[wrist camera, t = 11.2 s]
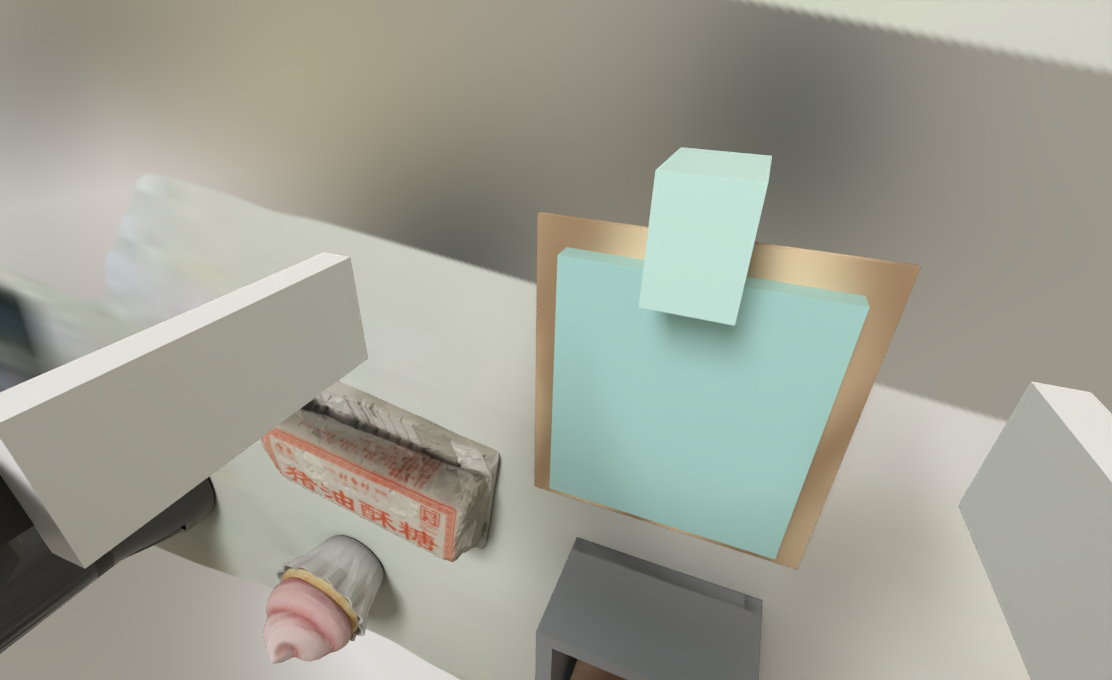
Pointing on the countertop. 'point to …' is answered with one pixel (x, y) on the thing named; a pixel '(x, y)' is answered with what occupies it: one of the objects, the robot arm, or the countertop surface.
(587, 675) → the block
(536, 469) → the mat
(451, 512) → the packaged product
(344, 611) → the cupcake
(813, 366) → the lid
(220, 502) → the countertop surface
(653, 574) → the tub
